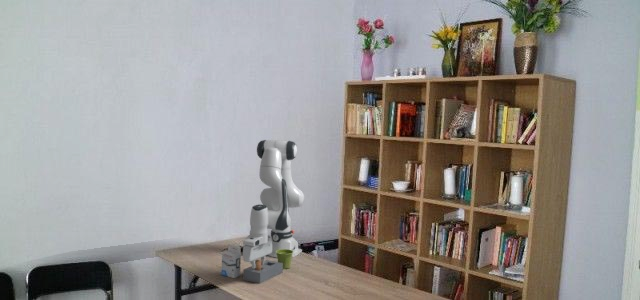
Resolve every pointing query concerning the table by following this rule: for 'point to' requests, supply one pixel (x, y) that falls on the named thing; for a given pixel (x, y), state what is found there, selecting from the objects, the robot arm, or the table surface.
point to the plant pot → (284, 257)
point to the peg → (258, 265)
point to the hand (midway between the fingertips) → (257, 266)
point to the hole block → (263, 272)
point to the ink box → (231, 261)
